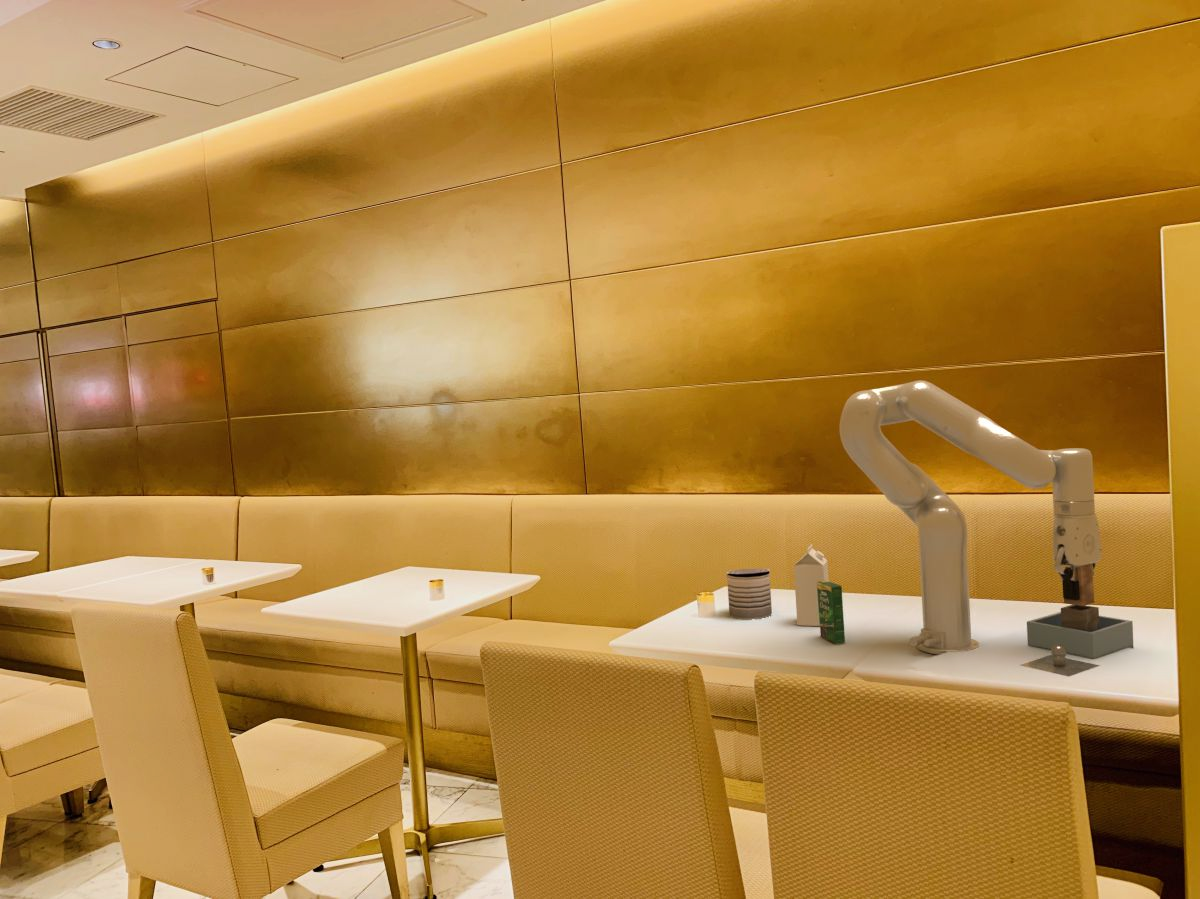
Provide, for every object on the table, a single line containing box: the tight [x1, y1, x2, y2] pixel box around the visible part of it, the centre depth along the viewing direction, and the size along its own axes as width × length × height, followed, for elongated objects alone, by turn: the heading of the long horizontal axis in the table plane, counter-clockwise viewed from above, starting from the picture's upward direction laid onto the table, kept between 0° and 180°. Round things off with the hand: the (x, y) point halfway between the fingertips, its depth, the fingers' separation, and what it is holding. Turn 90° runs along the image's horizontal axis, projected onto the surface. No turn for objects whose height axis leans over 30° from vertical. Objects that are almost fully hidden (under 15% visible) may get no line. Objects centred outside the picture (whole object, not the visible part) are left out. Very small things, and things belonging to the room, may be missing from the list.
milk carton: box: [793, 544, 830, 627], centre depth 222 cm, size 7×7×19 cm
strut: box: [1060, 563, 1100, 632], centre depth 185 cm, size 5×5×14 cm
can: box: [726, 568, 773, 621], centre depth 235 cm, size 11×11×12 cm
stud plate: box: [1020, 645, 1101, 678], centre depth 174 cm, size 10×10×5 cm
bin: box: [1026, 611, 1134, 660], centre depth 186 cm, size 14×14×6 cm
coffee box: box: [817, 580, 846, 645], centre depth 206 cm, size 8×3×13 cm, turn 10°
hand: (1078, 596), depth 185 cm, fingers closed on strut, 4 cm apart
